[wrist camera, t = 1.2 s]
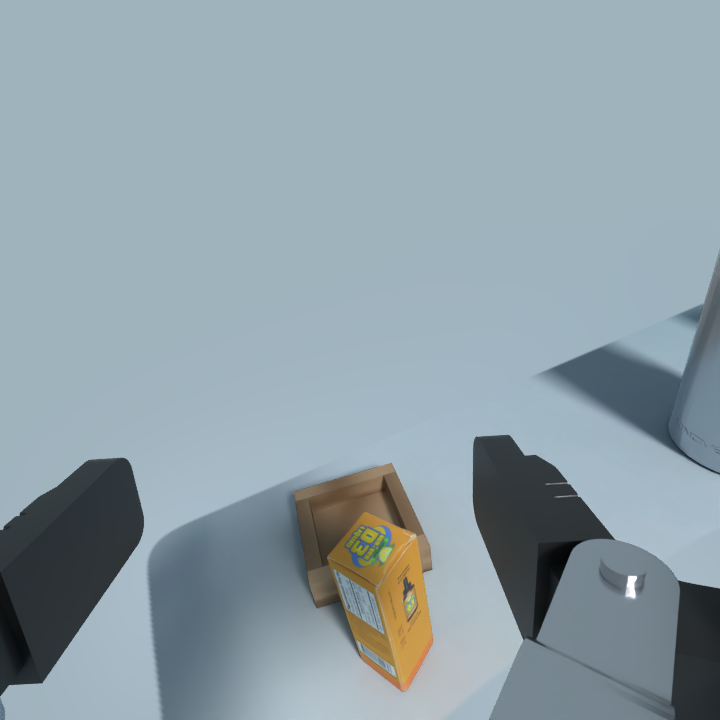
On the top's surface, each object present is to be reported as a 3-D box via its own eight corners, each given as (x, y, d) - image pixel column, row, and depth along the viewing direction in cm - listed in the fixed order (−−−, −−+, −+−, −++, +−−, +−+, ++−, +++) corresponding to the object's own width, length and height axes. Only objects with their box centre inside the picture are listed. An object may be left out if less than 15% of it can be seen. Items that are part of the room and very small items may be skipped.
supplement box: (387, 610, 28) (366, 504, 23) (435, 643, 26) (424, 534, 21) (354, 659, 26) (324, 553, 21) (404, 698, 24) (384, 592, 19)
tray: (394, 484, 36) (391, 462, 35) (432, 569, 30) (430, 546, 28) (300, 513, 35) (293, 491, 34) (317, 608, 29) (309, 586, 27)
